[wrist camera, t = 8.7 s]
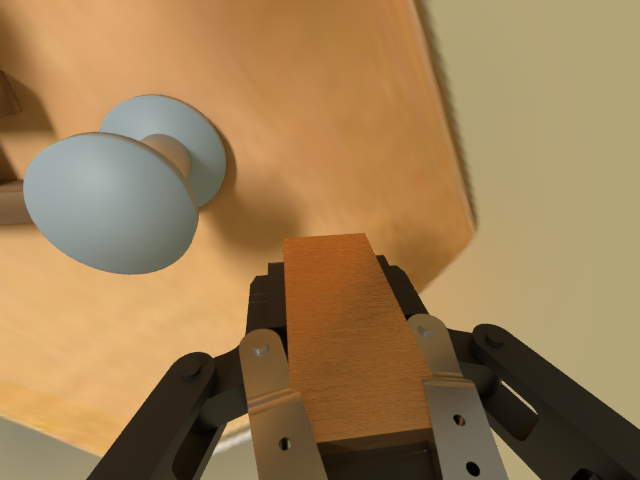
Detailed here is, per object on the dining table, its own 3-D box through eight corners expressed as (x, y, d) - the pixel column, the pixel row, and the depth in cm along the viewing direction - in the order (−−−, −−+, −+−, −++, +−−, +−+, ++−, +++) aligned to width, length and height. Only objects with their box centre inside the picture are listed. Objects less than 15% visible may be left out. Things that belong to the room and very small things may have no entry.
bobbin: (84, 95, 22) (-33, 127, 13) (216, 93, 23) (184, 124, 14) (126, 209, 27) (60, 286, 18) (233, 204, 28) (217, 275, 19)
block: (282, 238, 13) (292, 446, 6) (364, 233, 13) (456, 423, 7) (287, 300, 15) (298, 511, 8) (359, 294, 15) (426, 491, 9)
